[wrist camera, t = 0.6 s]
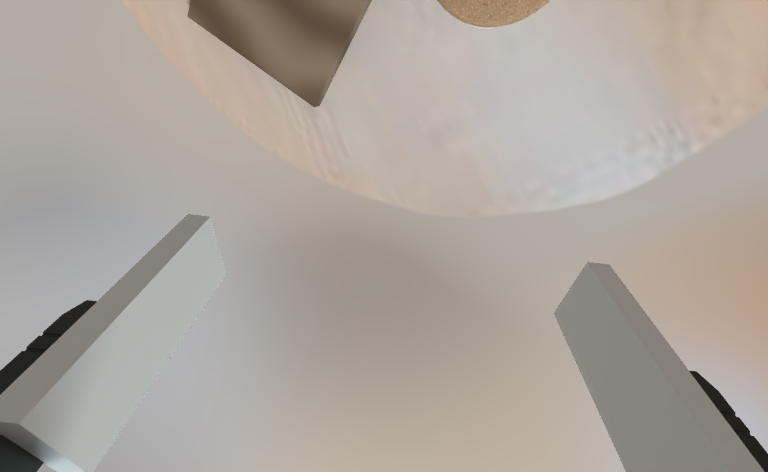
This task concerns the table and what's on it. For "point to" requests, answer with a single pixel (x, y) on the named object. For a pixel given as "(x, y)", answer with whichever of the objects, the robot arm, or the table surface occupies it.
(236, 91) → the table surface
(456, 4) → the lidded jar
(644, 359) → the robot arm
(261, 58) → the brown metal plate
